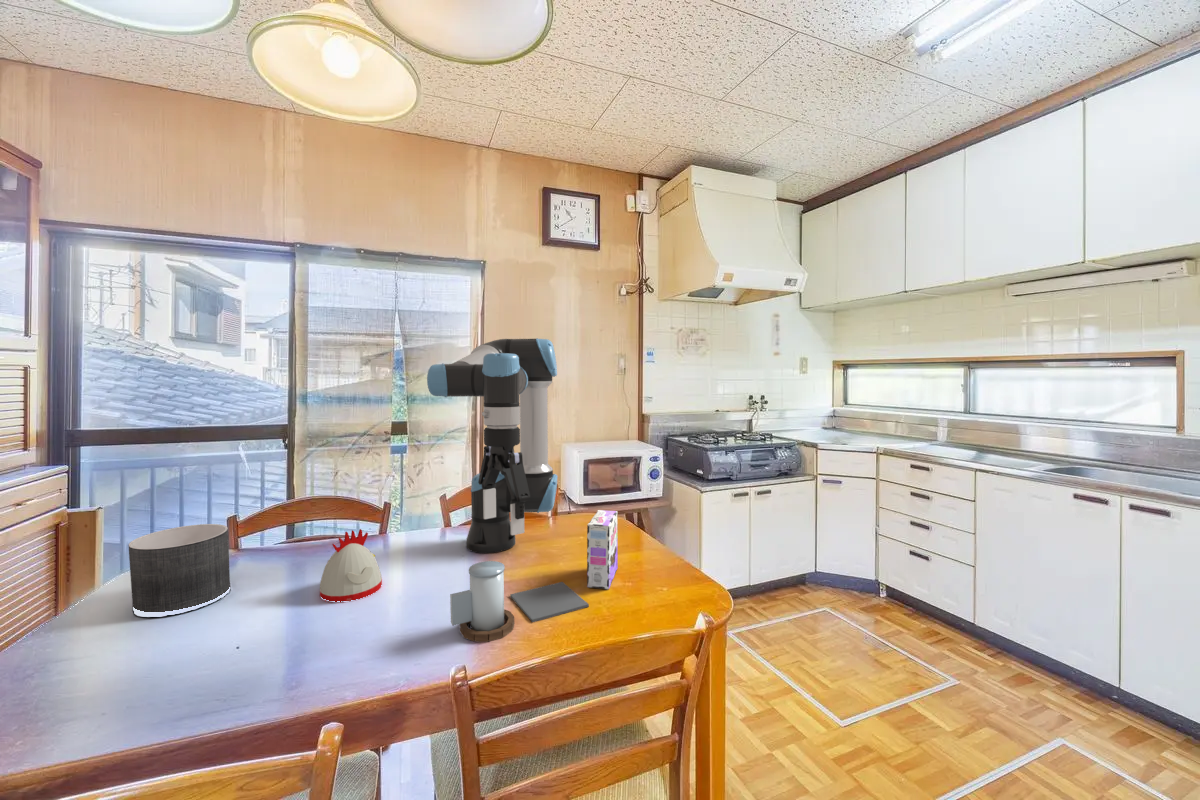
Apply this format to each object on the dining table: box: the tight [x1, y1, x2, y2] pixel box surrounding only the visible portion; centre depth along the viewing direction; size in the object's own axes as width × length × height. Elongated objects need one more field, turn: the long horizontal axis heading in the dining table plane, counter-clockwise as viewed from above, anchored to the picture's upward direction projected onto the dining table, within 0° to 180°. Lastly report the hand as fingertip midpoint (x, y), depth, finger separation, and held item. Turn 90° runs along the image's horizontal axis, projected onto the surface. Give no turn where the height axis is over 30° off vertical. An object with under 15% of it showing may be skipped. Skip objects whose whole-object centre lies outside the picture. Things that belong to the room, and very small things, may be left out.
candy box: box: [586, 509, 619, 590], centre depth 127 cm, size 14×6×16 cm, turn 168°
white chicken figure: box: [319, 528, 383, 603], centre depth 121 cm, size 14×14×15 cm
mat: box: [509, 581, 590, 623], centre depth 115 cm, size 14×14×1 cm
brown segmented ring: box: [459, 608, 516, 643], centre depth 103 cm, size 11×11×2 cm
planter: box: [128, 523, 231, 612], centre depth 115 cm, size 18×18×16 cm
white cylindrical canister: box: [449, 560, 506, 631], centre depth 102 cm, size 11×7×13 cm, turn 120°
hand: (503, 525), depth 103 cm, fingers open, 13 cm apart
